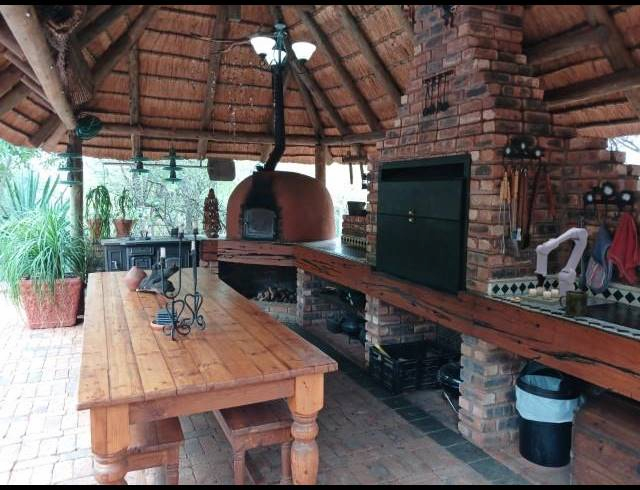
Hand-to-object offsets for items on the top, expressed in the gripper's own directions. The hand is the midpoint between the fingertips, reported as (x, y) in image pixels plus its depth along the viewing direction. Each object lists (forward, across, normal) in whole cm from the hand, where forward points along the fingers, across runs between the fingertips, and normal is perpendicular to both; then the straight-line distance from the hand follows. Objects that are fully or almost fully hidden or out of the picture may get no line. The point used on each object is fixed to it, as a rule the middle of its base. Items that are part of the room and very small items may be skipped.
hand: (540, 286), depth 313 cm
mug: (+8, +41, +5) cm, 42 cm away
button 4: (+6, +6, -6) cm, 10 cm away
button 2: (+6, +13, 0) cm, 14 cm away
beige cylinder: (+5, 0, 0) cm, 6 cm away
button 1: (+5, +6, +6) cm, 11 cm away
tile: (+8, +6, -16) cm, 19 cm away
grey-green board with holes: (+8, +6, 0) cm, 10 cm away
